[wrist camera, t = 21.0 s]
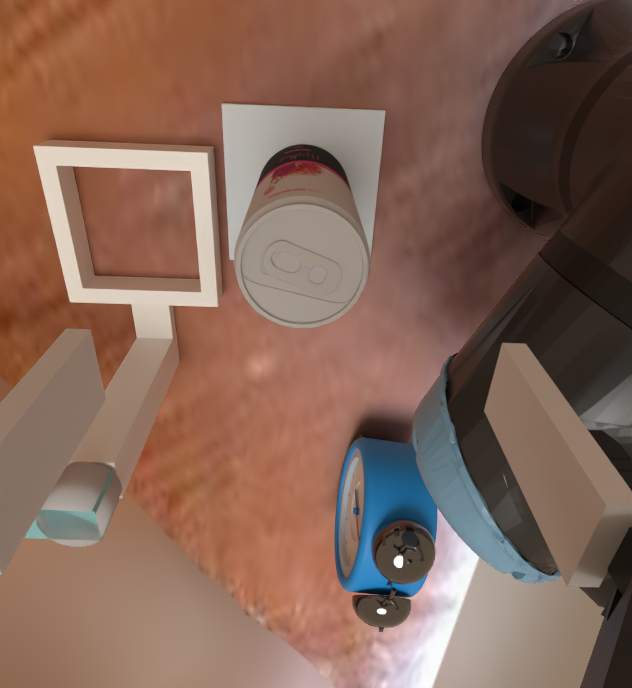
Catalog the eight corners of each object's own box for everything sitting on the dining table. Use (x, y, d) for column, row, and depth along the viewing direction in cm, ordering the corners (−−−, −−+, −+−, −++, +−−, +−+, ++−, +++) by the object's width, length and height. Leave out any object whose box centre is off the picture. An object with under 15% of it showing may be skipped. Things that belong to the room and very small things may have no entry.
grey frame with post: (213, 146, 35) (152, 208, 22) (227, 362, 44) (190, 499, 31) (50, 139, 35) (-115, 197, 21) (98, 358, 44) (4, 495, 31)
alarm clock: (358, 406, 47) (376, 541, 34) (421, 415, 48) (461, 551, 35) (331, 501, 54) (337, 644, 41) (386, 508, 54) (410, 651, 41)
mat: (384, 110, 34) (385, 111, 34) (369, 261, 40) (369, 264, 39) (222, 103, 34) (221, 103, 33) (230, 256, 39) (229, 259, 39)
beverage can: (279, 126, 34) (262, 174, 21) (364, 167, 35) (397, 236, 23) (245, 213, 37) (212, 302, 24) (325, 248, 38) (334, 349, 26)
